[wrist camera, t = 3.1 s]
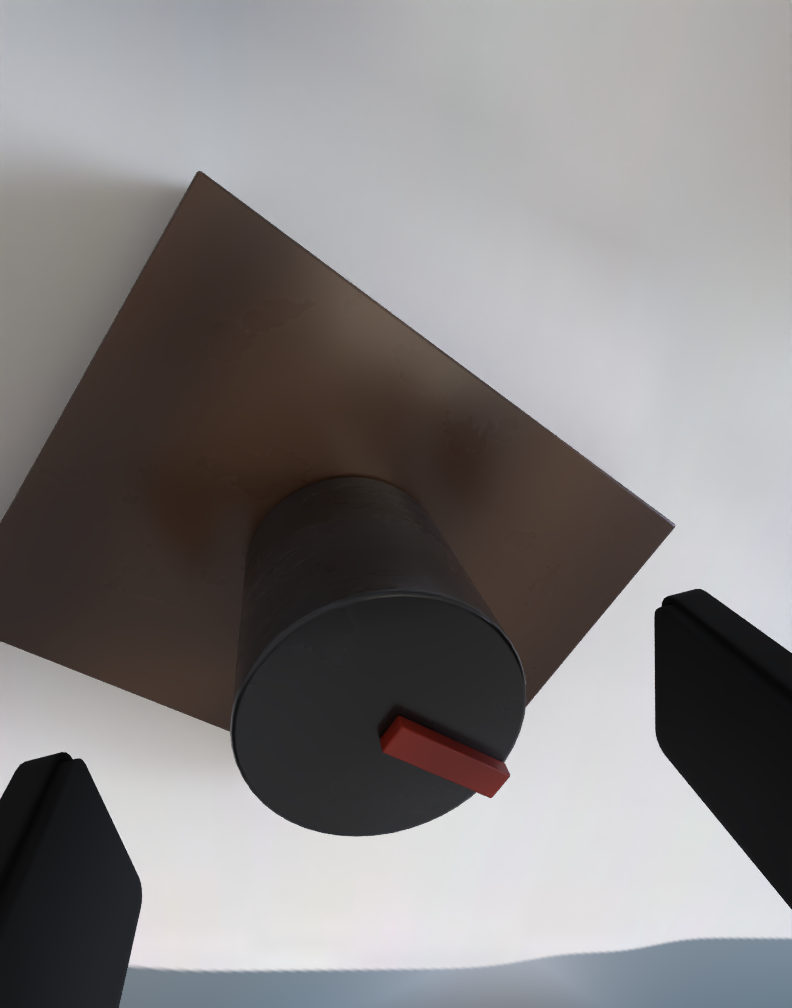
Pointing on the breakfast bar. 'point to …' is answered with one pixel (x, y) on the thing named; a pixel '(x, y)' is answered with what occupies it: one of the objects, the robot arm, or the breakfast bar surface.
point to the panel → (283, 468)
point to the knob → (367, 666)
